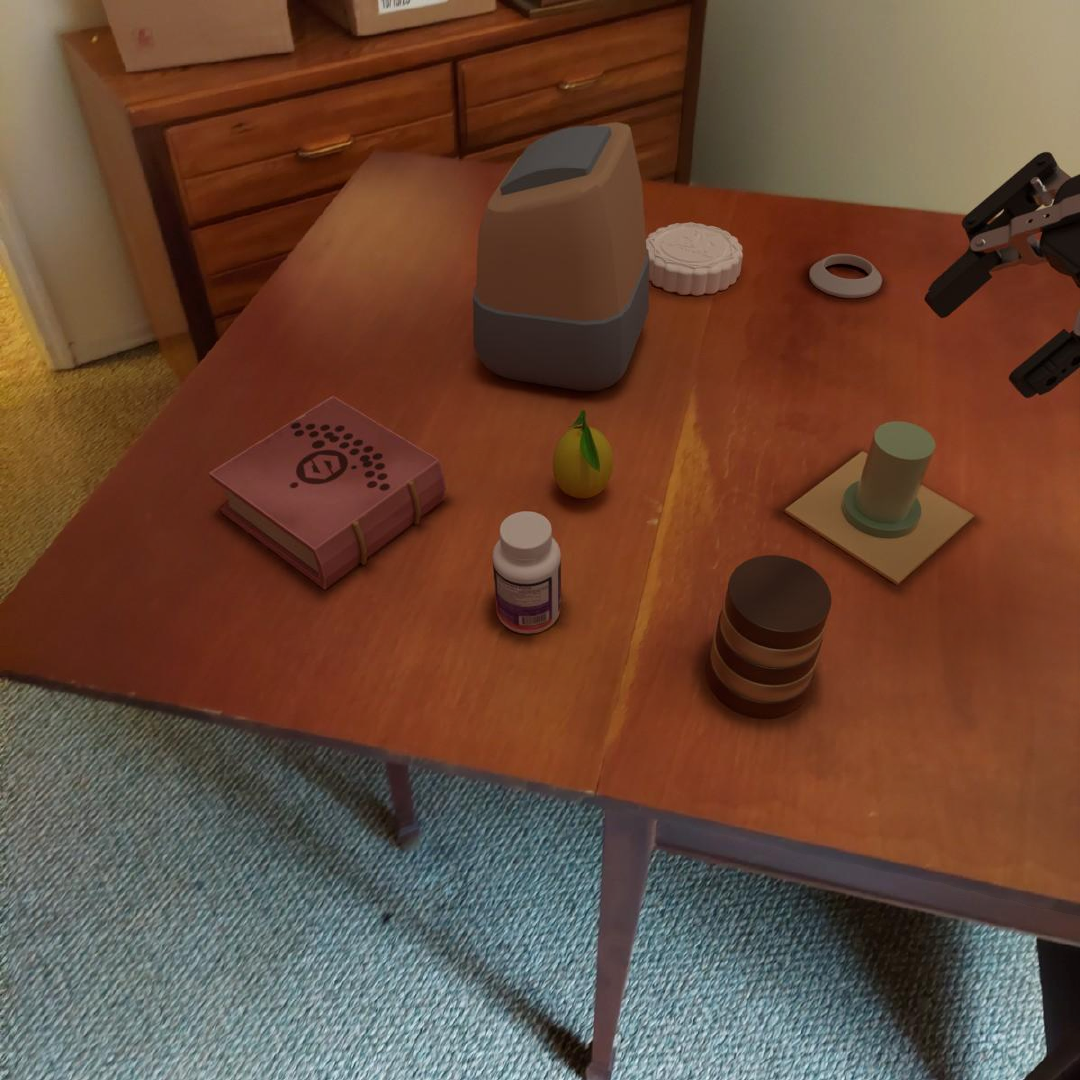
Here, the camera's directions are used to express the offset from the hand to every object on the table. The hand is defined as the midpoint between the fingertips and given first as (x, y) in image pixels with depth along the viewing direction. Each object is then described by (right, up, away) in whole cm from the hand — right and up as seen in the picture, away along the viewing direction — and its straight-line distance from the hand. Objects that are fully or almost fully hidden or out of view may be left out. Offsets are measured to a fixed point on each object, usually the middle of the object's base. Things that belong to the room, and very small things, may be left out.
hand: (972, 347), depth 57 cm
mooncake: (-7, +21, +60) cm, 64 cm away
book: (-44, -9, +32) cm, 55 cm away
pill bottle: (-27, -17, +23) cm, 39 cm away
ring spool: (+5, -9, +30) cm, 32 cm away
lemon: (-22, -7, +32) cm, 40 cm away
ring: (+11, +20, +58) cm, 62 cm away
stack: (-9, -22, +18) cm, 30 cm away
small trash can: (-23, +9, +48) cm, 54 cm away
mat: (+5, -9, +30) cm, 32 cm away
